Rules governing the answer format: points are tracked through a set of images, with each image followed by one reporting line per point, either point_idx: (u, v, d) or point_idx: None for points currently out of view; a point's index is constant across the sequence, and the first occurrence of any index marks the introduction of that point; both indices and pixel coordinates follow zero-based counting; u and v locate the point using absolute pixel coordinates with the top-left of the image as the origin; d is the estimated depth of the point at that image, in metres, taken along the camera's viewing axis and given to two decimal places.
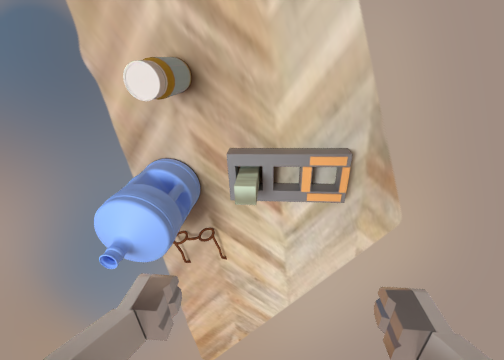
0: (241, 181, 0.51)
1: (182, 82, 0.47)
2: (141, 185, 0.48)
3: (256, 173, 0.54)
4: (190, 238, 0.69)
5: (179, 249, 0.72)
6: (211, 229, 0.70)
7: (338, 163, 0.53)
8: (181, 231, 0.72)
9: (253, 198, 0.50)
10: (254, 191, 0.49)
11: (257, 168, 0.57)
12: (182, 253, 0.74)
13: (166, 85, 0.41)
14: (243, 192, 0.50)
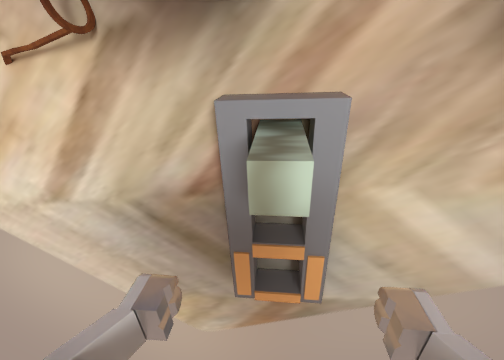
0: None
1: None
2: None
3: None
4: None
5: None
6: (90, 20, 0.23)
7: (308, 291, 0.32)
8: None
9: (271, 211, 0.18)
10: (293, 213, 0.18)
11: None
12: None
13: None
14: (290, 185, 0.17)
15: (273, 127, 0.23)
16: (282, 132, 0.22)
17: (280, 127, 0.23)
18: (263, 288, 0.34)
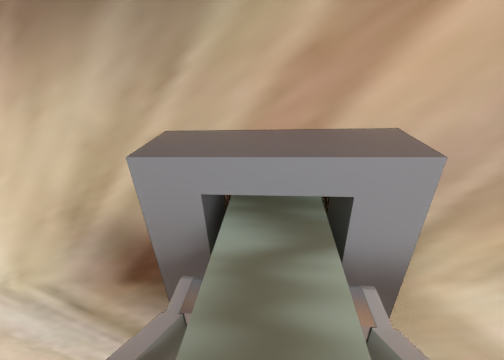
0: None
1: None
2: None
3: None
4: None
5: None
6: None
7: None
8: None
9: None
10: None
11: None
12: None
13: None
14: None
15: (260, 207, 0.11)
16: (281, 235, 0.09)
17: (275, 207, 0.11)
18: None
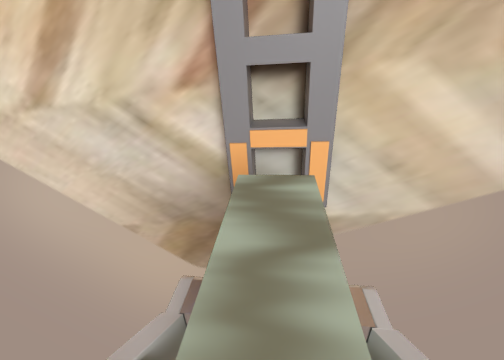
0: None
1: None
2: None
3: None
4: None
5: None
6: None
7: None
8: None
9: None
10: None
11: None
12: None
13: None
14: None
15: (260, 206, 0.11)
16: (281, 234, 0.09)
17: (275, 207, 0.11)
18: None
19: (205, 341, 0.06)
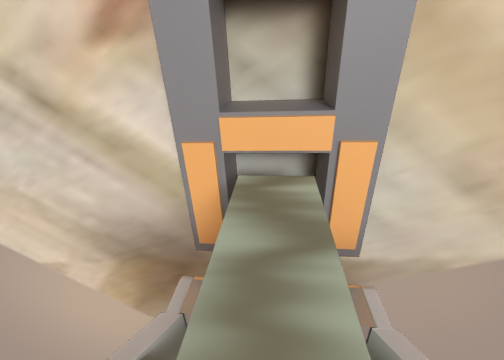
0: None
1: None
2: None
3: None
4: None
5: None
6: None
7: (336, 229, 0.16)
8: None
9: None
10: None
11: None
12: None
13: None
14: None
15: (260, 207, 0.11)
16: (281, 235, 0.09)
17: (275, 208, 0.11)
18: None
19: (205, 342, 0.06)
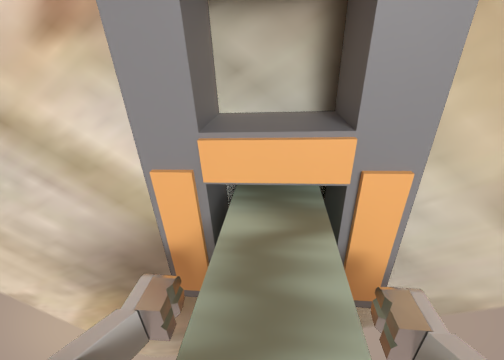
0: None
1: None
2: None
3: None
4: None
5: None
6: None
7: (353, 278, 0.13)
8: None
9: None
10: None
11: None
12: None
13: None
14: None
15: (263, 196, 0.12)
16: (282, 220, 0.10)
17: (277, 197, 0.12)
18: None
19: (215, 305, 0.07)
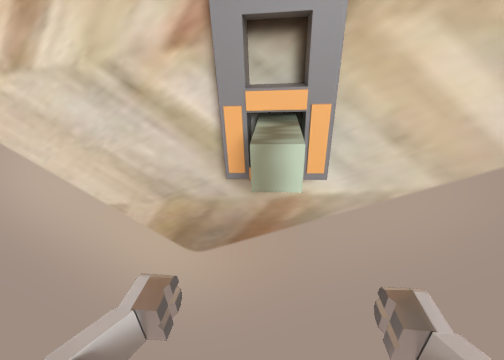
0: None
1: None
2: None
3: None
4: None
5: None
6: None
7: (312, 159, 0.28)
8: None
9: (270, 187, 0.21)
10: (288, 189, 0.21)
11: None
12: None
13: None
14: (286, 165, 0.20)
15: (271, 119, 0.27)
16: (279, 124, 0.25)
17: (277, 119, 0.27)
18: None
19: (259, 135, 0.22)
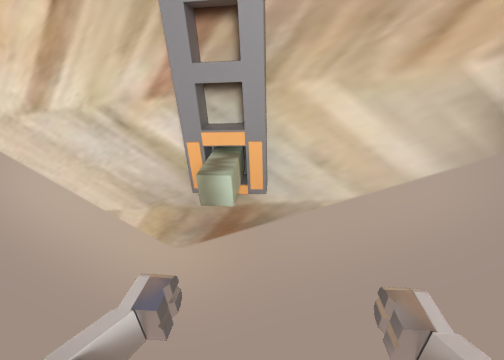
0: (234, 177, 0.32)
1: None
2: None
3: (240, 182, 0.36)
4: None
5: None
6: None
7: (253, 179, 0.38)
8: None
9: (213, 203, 0.31)
10: (224, 204, 0.31)
11: (242, 174, 0.39)
12: None
13: None
14: (220, 188, 0.30)
15: (222, 151, 0.37)
16: (225, 155, 0.35)
17: (226, 151, 0.37)
18: None
19: (205, 166, 0.32)
